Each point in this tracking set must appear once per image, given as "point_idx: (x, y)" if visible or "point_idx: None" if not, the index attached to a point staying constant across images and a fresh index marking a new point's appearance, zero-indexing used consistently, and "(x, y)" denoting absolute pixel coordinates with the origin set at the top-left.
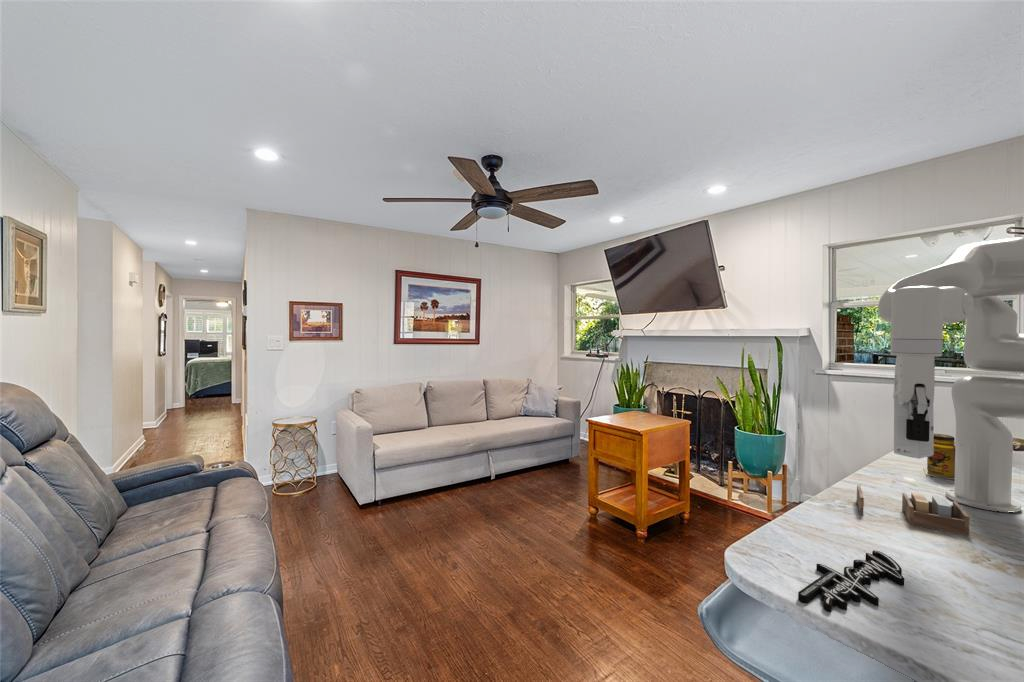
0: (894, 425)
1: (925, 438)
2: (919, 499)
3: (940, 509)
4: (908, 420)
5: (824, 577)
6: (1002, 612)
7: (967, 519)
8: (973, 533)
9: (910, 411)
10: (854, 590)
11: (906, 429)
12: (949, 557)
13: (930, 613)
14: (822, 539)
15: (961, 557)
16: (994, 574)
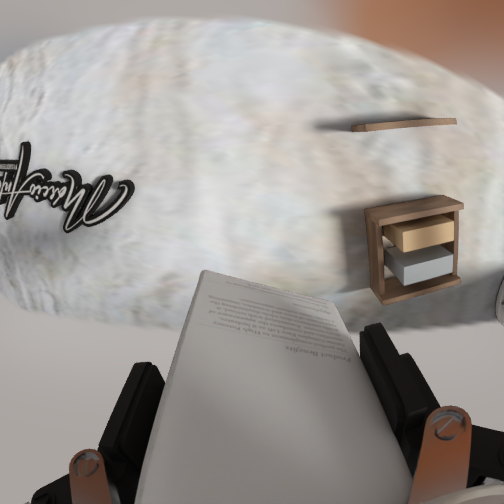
0: (176, 357)
1: None
2: (416, 236)
3: (400, 266)
4: (106, 444)
5: (1, 164)
6: (102, 313)
7: (381, 300)
8: None
9: (75, 494)
10: (2, 197)
11: (124, 395)
12: (234, 269)
13: (37, 258)
14: (134, 101)
15: None
16: None
